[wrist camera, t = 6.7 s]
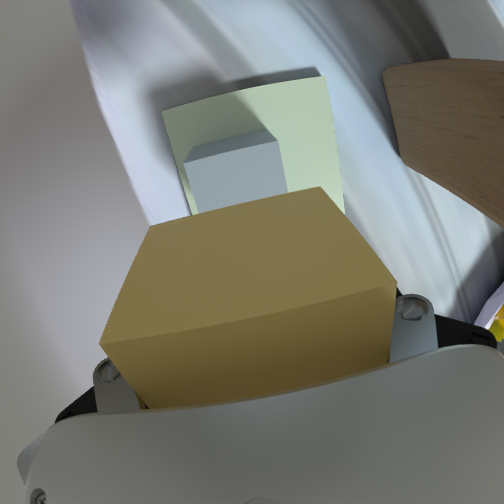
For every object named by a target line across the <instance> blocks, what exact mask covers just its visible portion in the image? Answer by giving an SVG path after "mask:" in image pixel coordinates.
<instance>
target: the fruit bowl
mask: <svg viewBox="0 0 504 504" xmlns="http://www.w3.org/2000/svg"><path fill="white" fill-rule="evenodd" d="M473 325H476V326H480V327H483V328H486V329H488V330H489V331H490V332H492V333H493V335H494V336H495V338H496V341H499V342H501V340H502V339H504V282H503V283H502V284H501V286H500V287H499V288H498V289H497V290H496V291H495V292H494V294H493V295H492V296H491V297H490V298H489V299H488V300H487V301H486V303H485V305H484V307H483V309H482V311H481V312H480V314H479V316H478V318H477V319H476V321H475V323H474V324H473Z"/></svg>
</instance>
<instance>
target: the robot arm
mask: <svg viewBox="0 0 504 504" xmlns="http://www.w3.org/2000/svg"><path fill="white" fill-rule="evenodd" d="M93 384H94V386H93V387H92V388H90V389H89V390H88V391H87V392H85V393H84V394H83V395H82V396H81V397H79V398H78V399H77V400H75V401H74V402H73V403H72V404H70V405H69V406H68V407H67V408H65V409H64V410H63V411H62V412H61V413H60V414H59V415H58V417H57V418H56V421H55V424H53V425H52V426H50V427H49V428H48V429H47V430H46V431H45V432H44V433H43V434H42V435H41V436H40V437H38V438H37V439H36V440H35V441H34V442H32V443H31V444H30V445H29V446H28V447H26V448H25V449H24V450H23V451H22V452H21V453H20V454H19V456H18V458H17V467H18V470H19V473H20V475H21V478H22V480H23V482H24V485H25V489H24V494H23V500H22V504H504V339H502V340H501V342H499V341H496V338H495V336H494V335H493V333H492V332H490V331H489V330H488V329H486V328H483V327H480V326H476V325H473V324H469V323H465V322H462V321H458V320H454V319H450V318H447V317H443V316H439V315H436V314H434V309H433V306H432V303H431V302H430V301H429V300H428V299H427V298H425V297H423V296H421V295H417V294H405V295H402V294H401V292H400V291H399V289H398V288H396V300H395V310H394V319H393V328H392V336H391V342H390V349H389V357H388V363H387V364H385V365H382V366H378V367H375V368H372V369H368V370H365V371H361V372H358V373H354V374H351V375H347V376H344V377H340V378H336V379H332V380H328V381H324V382H320V383H316V384H312V385H308V386H303V387H299V388H294V389H290V390H285V391H280V392H275V393H270V394H265V395H259V396H254V397H248V398H242V399H235V400H229V401H222V402H215V403H207V404H199V405H191V406H181V407H171V408H159V409H149V408H148V407H147V405H146V404H145V403H144V402H143V401H142V400H141V398H140V397H139V396H138V395H137V393H136V392H135V391H134V390H133V389H132V387H131V386H130V385H129V384H128V382H127V381H126V380H125V378H124V377H123V376H122V375H121V373H120V372H119V371H118V369H117V368H116V367H115V365H114V364H113V363H112V361H111V360H110V358H109V357H108V358H106V359H104V360H102V361H101V362H100V363H99V364H98V365H97V367H96V368H95V370H94V373H93Z"/></svg>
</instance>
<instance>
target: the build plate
mask: <svg viewBox="0 0 504 504" xmlns="http://www.w3.org/2000/svg"><path fill="white" fill-rule="evenodd" d="M161 113H162V117H163V121H164V124H165V127H166V131H167V134H168V138H169V141H170V145H171V148H172V151H173V155H174V158H175V161H176V165H177V168H178V171H179V174H180V178H181V181H182V184H183V187H184V191H185V194H186V197H187V200H188V203H189V206H190V209H191V213H192V215H195V214H199V213H198V209H197V206H196V203H195V200H194V197H193V193H192V190H191V187H190V183H189V180H188V177H187V174H186V170H185V167H184V164H183V163H184V162H185V160H186V158H187V156H188V155H189V153H190V151H191V150H192V148H193V147H195V146H199V145H202V144H206V143H210V142H214V141H218V140H222V139H226V138H230V137H234V136H238V135H243V134H247V133H252V132H256V131H261V130H266V129H268V131H269V132H270V133H271V134H272V135H273V136H274V137H275V138H276V139H277V140H278V143H279V147H280V152H281V157H282V163H283V168H284V173H285V178H286V183H287V189H288V193H289V192H294V191H299V190H304V189H309V188H313V187H318V186H321V188H322V189H323V190H324V191H325V192H326V193H327V195H328V196H329V197H330V198H331V199H332V200H333V202H334V203H335V204H336V205H337V206H338V207H339V209H340V210H341V211H342V212H343V213H344V215H345V211H344V201H343V191H342V182H341V173H340V165H339V157H338V150H337V143H336V136H335V129H334V123H333V117H332V111H331V105H330V99H329V94H328V88H327V83H326V78H325V76H320V77H312V78H304V79H297V80H291V81H285V82H279V83H273V84H267V85H262V86H257V87H252V88H247V89H242V90H238V91H233V92H229V93H225V94H221V95H217V96H213V97H209V98H205V99H201V100H197V101H194V102H190V103H187V104H183V105H180V106H177V107H173V108H170V109H167V110H164V111H161Z"/></svg>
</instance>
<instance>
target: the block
mask: <svg viewBox="0 0 504 504" xmlns="http://www.w3.org/2000/svg"><path fill="white" fill-rule="evenodd" d="M382 79H383V83H384V86H385V90H386V94H387V97H388V101H389V105H390V109H391V114H392V118H393V122H394V127H395V131H396V136H397V141H398V146H399V152H400V157H401V159H402V161H403V163H404V164H405V165H406V166H408V167H410V168H411V169H413V170H415V171H417V172H418V173H420V174H422V175H424V176H425V177H427V178H429V179H430V180H432V181H434V182H435V183H437V184H439V185H440V186H442V187H444V188H445V189H447V190H448V191H450V192H452V193H453V194H455V195H456V196H458V197H459V198H461V199H462V200H464V201H465V202H467V203H468V204H470V205H471V206H473V207H474V208H476V209H477V210H479V211H480V212H482V213H483V214H484V215H486V216H487V217H489V218H490V219H491V220H493V221H494V222H496V223H497V224H498V225H500V226H501V227H502V228H504V61H494V60H480V59H455V58H451V59H441V60H432V61H424V62H417V63H410V64H403V65H397V66H391V67H388V68H387V69H386V70H384V71H383V72H382Z"/></svg>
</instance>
